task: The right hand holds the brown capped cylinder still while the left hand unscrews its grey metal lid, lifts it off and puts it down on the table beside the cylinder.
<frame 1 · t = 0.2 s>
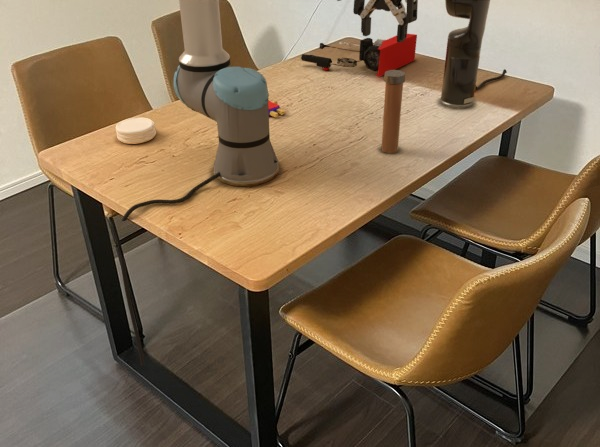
left hand: (358, 4, 166), 28 cm above the table, tool pointing down, fingers open, 13 cm apart
right hand: (383, 38, 134), 29 cm above the table, tool pointing down, fingers open, 8 cm apart
lid: (394, 74, 144), point 19 cm above the table, screwed on, not yet turned
electric hoist: (358, 63, 212), on the table
coaster: (136, 137, 163), on the table
brown capped cylinder: (389, 149, 155), on the table
toy figure: (266, 111, 177), on the table
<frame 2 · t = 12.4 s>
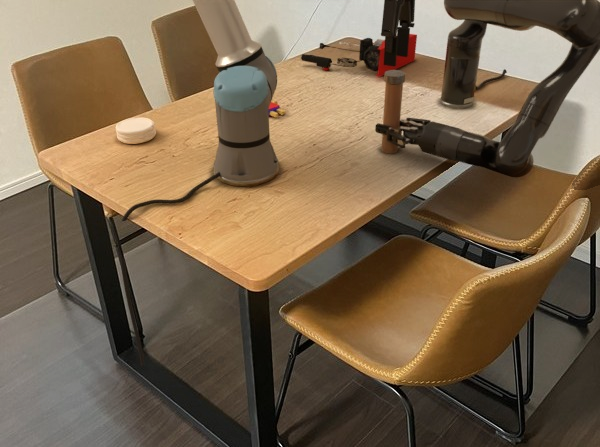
left hand: (395, 60, 142), 23 cm above the table, tool pointing down, fingers open, 7 cm apart
right hand: (381, 124, 153), 6 cm above the table, tool horizontal, fingers closed on brown capped cylinder, 4 cm apart
brown capped cylinder: (389, 149, 155), on the table, touching right hand
everything else where it was.
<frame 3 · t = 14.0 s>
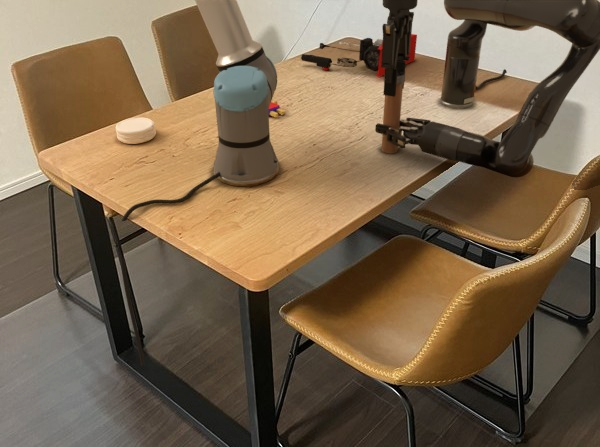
left hand: (393, 91, 146), 15 cm above the table, tool pointing down, fingers closed on lid, 5 cm apart
right hand: (381, 124, 153), 6 cm above the table, tool horizontal, fingers closed on brown capped cylinder, 4 cm apart
lid: (394, 74, 144), point 19 cm above the table, screwed on, not yet turned, touching left hand
brown capped cylinder: (389, 149, 155), on the table, touching right hand
everything else where it was.
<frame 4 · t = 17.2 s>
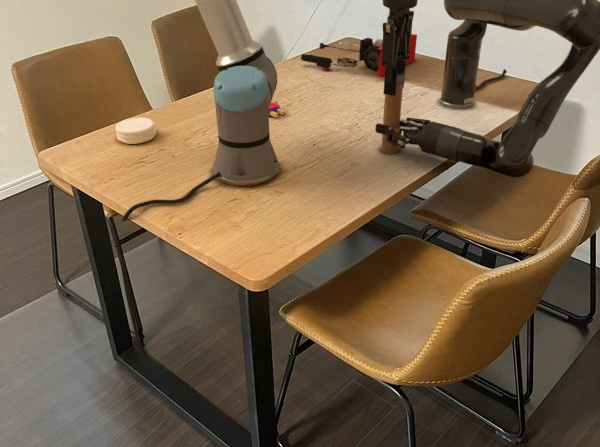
left hand: (393, 90, 146), 15 cm above the table, tool pointing down, fingers closed on lid, 5 cm apart
right hand: (381, 124, 153), 6 cm above the table, tool horizontal, fingers closed on brown capped cylinder, 4 cm apart
lid: (394, 73, 144), point 20 cm above the table, turned 86° so far, risen 0.2 cm, still on its thread, touching left hand
brown capped cylinder: (389, 149, 155), on the table, touching right hand
everything else where it was.
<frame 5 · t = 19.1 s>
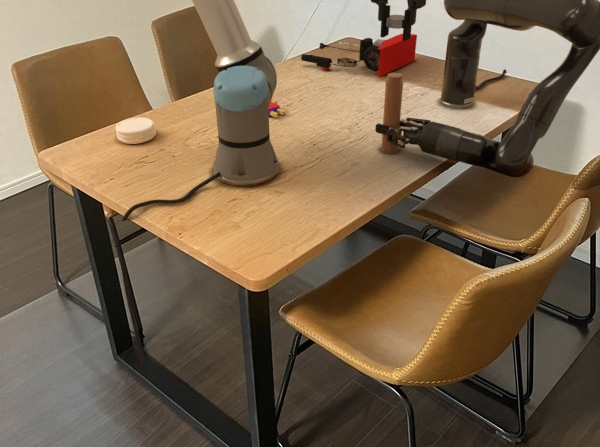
left hand: (395, 37, 140), 28 cm above the table, tool pointing down, fingers closed on lid, 5 cm apart
right hand: (381, 124, 153), 6 cm above the table, tool horizontal, fingers closed on brown capped cylinder, 4 cm apart
lid: (396, 19, 138), point 32 cm above the table, off its thread, touching left hand
brown capped cylinder: (389, 149, 155), on the table, touching right hand
everything else where it was.
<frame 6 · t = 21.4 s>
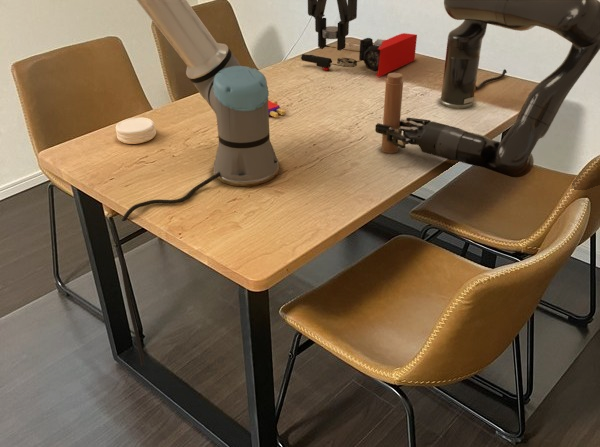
left hand: (331, 47, 153), 22 cm above the table, tool pointing down, fingers closed on lid, 5 cm apart
right hand: (381, 124, 153), 6 cm above the table, tool horizontal, fingers closed on brown capped cylinder, 4 cm apart
lid: (331, 30, 150), point 26 cm above the table, off its thread, touching left hand
brown capped cylinder: (389, 149, 155), on the table, touching right hand
everything else where it was.
when the left hand's fingers open (0 cm above the table, at t = 25.7 s): lid drops 2 cm, point 1 cm above the table.
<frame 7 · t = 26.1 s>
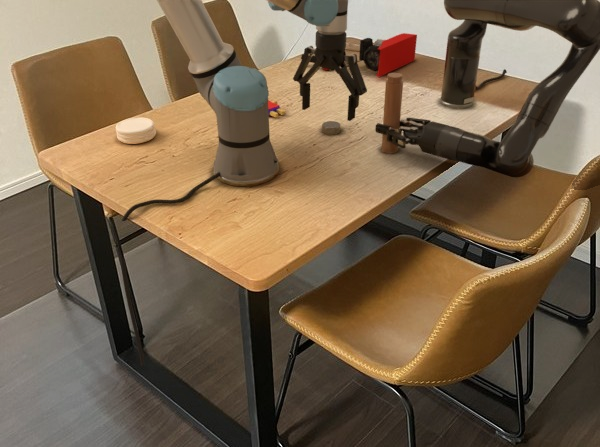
left hand: (328, 113, 162), 5 cm above the table, tool pointing down, fingers open, 13 cm apart
right hand: (381, 124, 153), 6 cm above the table, tool horizontal, fingers closed on brown capped cylinder, 4 cm apart
lid: (331, 125, 164), point 1 cm above the table, off its thread
brown capped cylinder: (389, 149, 155), on the table, touching right hand
everything else where it was.
when the right hand's fingers open (6 cm above the table, at t = 26.2 s): brown capped cylinder stays where it is, on the table.
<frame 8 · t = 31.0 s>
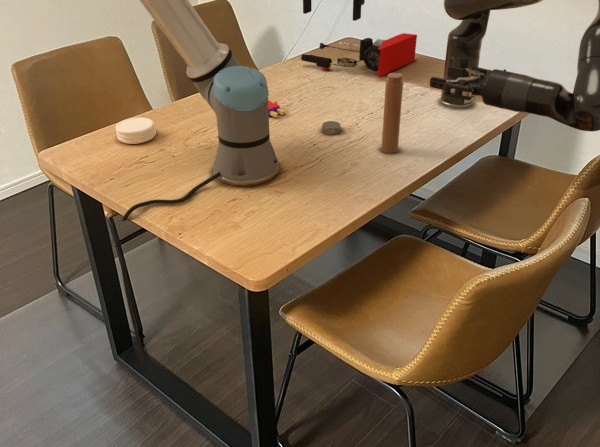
left hand: (331, 15, 149), 30 cm above the table, tool pointing down, fingers open, 13 cm apart
right hand: (439, 76, 137), 21 cm above the table, tool horizontal, fingers open, 8 cm apart
brown capped cylinder: (389, 149, 155), on the table
everything else where it was.
at the end: lid came off its thread; lid point 1.5 cm above the table; the left hand is holding nothing; the right hand is holding nothing; brown capped cylinder tilted 0°; brown capped cylinder moved 0.0 cm from its start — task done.
